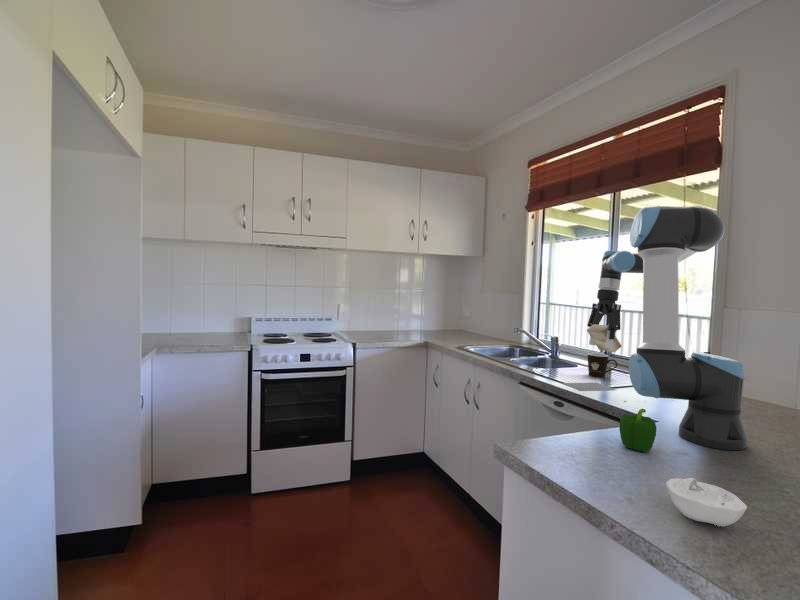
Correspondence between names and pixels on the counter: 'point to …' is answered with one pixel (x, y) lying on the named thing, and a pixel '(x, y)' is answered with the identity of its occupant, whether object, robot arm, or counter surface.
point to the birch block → (602, 337)
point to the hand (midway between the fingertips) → (600, 346)
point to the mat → (588, 386)
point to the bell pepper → (637, 431)
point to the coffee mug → (598, 364)
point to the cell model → (705, 502)
